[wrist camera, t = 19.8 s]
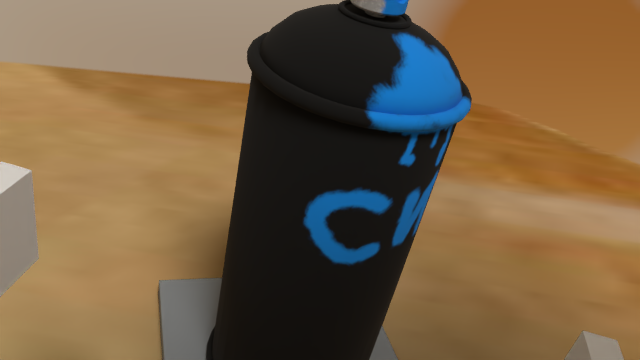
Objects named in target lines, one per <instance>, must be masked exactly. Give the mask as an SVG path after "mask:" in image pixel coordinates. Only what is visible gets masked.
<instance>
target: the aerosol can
mask: <svg viewBox="0 0 640 360" xmlns="http://www.w3.org/2000/svg"><path fill="white" fill-rule="evenodd" d="M408 1H409V0H345V1H342V2H341V3H339V4H329V5H320V6H316V7H312V8H308V9H304V10H301V11H298V12H295V13H293V14H292V15H290V16H289V17H287V18H286V19H284V20H283V21H282V22H280V23H279V24H277V25H276V26H275V27H273V28H272V29H271V30H270V31H269V32H267V33H264V34H262V35H261V36H259V37H258V38H256V39H255V40H253V42H252V44H251V45H250V47H249V48H248V51H247V61H248V64H249V67H250V69H251V71H252V76H251V83H250V90H249V97H248V103H247V110H246V117H245V124H244V131H243V138H242V145H241V152H240V159H239V165H238V172H237V179H236V186H235V193H234V200H233V207H232V214H231V221H230V227H229V234H228V241H227V248H226V255H225V262H224V269H223V276H222V283H221V290H220V296H219V303H218V310H217V317H216V324H215V327H214V328H213V330H212V332H211V334H210V337H209V340H208V343H207V351H206V360H369V359H370V356H371V354H372V351H373V348H374V346H375V343H376V340H377V337H378V335H379V332H380V329H381V327H382V324H383V321H384V319H385V316H386V313H387V310H388V308H389V305H390V302H391V300H392V297H393V294H394V291H395V289H396V286H397V283H398V281H399V278H400V275H401V273H402V270H403V267H404V264H405V262H406V259H407V256H408V254H409V251H410V248H411V245H412V243H413V240H414V237H415V235H416V232H417V229H418V227H419V224H420V221H421V218H422V216H423V213H424V210H425V208H426V205H427V202H428V199H429V197H430V194H431V191H432V189H433V186H434V183H435V181H436V178H437V175H438V172H439V170H440V167H441V164H442V162H443V159H444V156H445V153H446V151H447V148H448V145H449V143H450V140H451V137H452V135H453V132H454V129H455V126H456V124H457V122H459V121H461V120H462V119H463V118H464V117H465V116H466V115H467V113H468V112H469V111H470V107H471V95H470V93H469V90H468V88H467V86H466V85H465V84H464V83H463V81H462V80H461V77H460V75H459V71H458V69H457V67H456V65H455V63H454V62H453V60H452V58H451V56H450V54H449V52H448V51H447V50H446V48H445V47H444V46H443V45H442V44H441V43H440V42H439V41H438V40H436V39H435V38H434V37H433V36H432V35H431V34H430V33H428V32H427V31H426V30H425V29H423V28H421V27H420V26H418V25H416V24H414V23H413V22H412V21H411V19H410V18H409V16H408V15H406V14H405V11H406V7H407V4H408Z"/></svg>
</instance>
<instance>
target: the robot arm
mask: <svg viewBox="0 0 640 360" xmlns="http://www.w3.org/2000/svg"><path fill="white" fill-rule="evenodd" d="M38 259H39V257H38V244H37V232H36V219H35V207H34V194H33V182H32V170H29V169H25V168H22V167H18V166H15V165H12V164H8V163H5V162H0V297H1V296H2V295H3V294H4V293H5V292H6V291H7V290H8V289H9V288H10V287H11V286H12V285H13V284H14V283H15V282H16V281H17V280H18V279H19V278H20V277H21V276H22V275H23V274H24V273H25V272H26V271H27V270H28V269H29V268H30V267H31V266H32V265H33V264H34V263H35V262H36V261H37V260H38ZM564 360H624V358H623V355H622V353H621V350H620V347H619V344H618V341H617V340H614V339H611V338H607V337H604V336H600V335H597V334H593V333H590V332H586V331H582V333H581V334H580V336H579V337H578V339H577V340H576V342H575V343H574V345H573V346H572V348H571V349H570V351H569V353H568V354H567V356H566V357H565V359H564Z"/></svg>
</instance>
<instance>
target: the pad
mask: <svg viewBox="0 0 640 360" xmlns="http://www.w3.org/2000/svg"><path fill="white" fill-rule="evenodd" d="M221 283H222V278H206V279H181V280H159V291H158V296H159V312H160V329H161V345H162V360H206V351H207V343H208V340H209V337H210V334H211V332H212V330H213V328H214V327H215V324H216V317H217V310H218V303H219V296H220V290H221ZM369 360H398V359H397V356H396V354H395V352H394V350H393V348H392V346H391V344H390V341H389V339H388V337H387V335H386V333H385V331H384V329H383V326H382V327H381V329H380V332H379V335H378V337H377V340H376V343H375V346H374V348H373V351H372V354H371V356H370V359H369Z"/></svg>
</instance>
